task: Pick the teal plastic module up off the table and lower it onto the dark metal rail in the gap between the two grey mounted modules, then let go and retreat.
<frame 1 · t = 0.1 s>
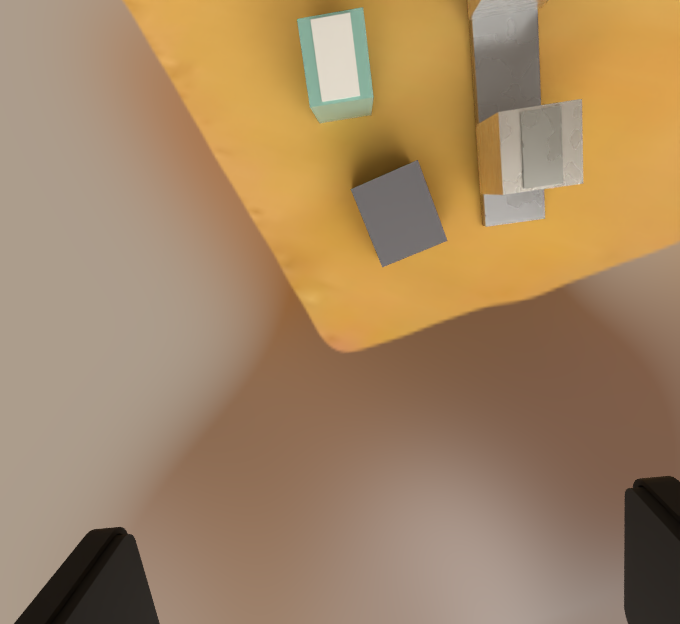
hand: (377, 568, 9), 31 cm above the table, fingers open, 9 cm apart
module: (340, 84, 35), on the table
rail: (503, 71, 35), on the table
gray brick: (395, 212, 38), on the table
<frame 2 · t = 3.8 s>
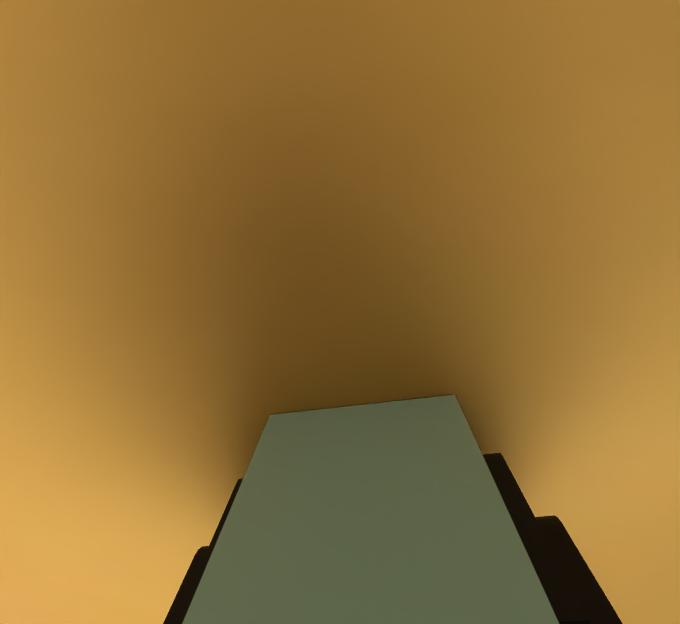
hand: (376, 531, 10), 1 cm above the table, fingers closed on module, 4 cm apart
module: (375, 505, 11), on the table, touching gripper
when the fingers open (4 cm above the table, at t = 8.5 s): module drops 2 cm, resting on rail.
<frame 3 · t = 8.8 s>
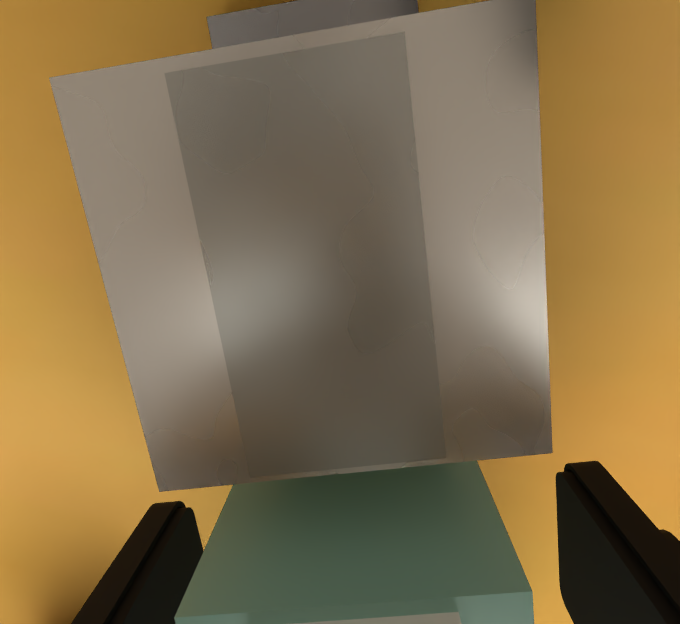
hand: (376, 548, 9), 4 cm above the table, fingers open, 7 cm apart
module: (368, 458, 13), point 1 cm above the table, touching rail
rail: (372, 439, 14), on the table
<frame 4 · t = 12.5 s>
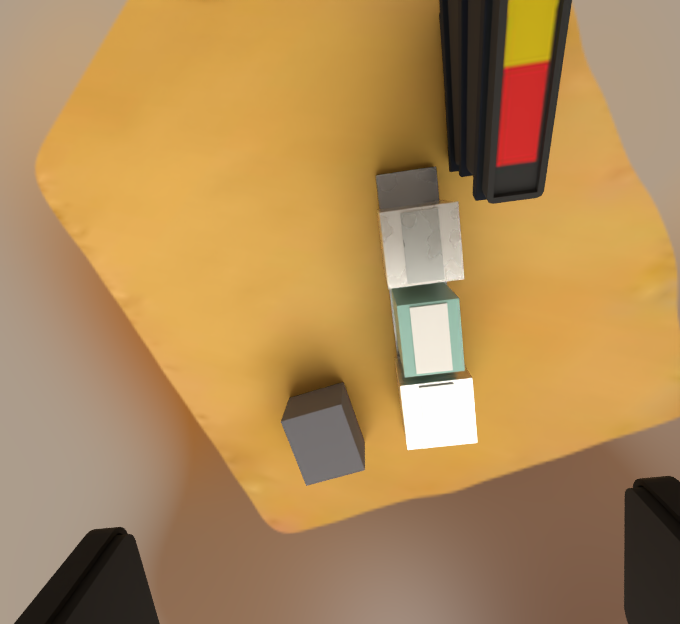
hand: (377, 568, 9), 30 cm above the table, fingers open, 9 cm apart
module: (418, 312, 38), point 1 cm above the table, touching rail
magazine: (465, 106, 35), on the table
rail: (419, 309, 39), on the table
gray brick: (327, 419, 42), on the table
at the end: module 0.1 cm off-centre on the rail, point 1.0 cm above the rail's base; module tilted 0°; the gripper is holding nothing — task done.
